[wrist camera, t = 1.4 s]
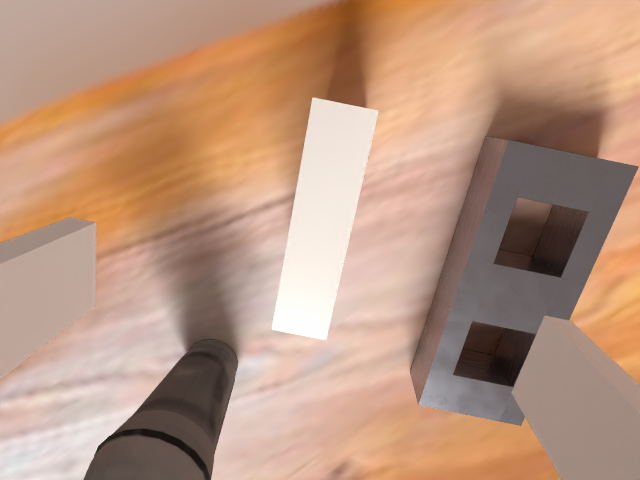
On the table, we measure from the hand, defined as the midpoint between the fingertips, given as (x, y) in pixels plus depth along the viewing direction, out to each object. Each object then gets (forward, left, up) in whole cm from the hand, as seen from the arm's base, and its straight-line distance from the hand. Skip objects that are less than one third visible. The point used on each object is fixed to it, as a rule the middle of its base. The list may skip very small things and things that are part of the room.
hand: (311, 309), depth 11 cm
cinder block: (+14, -4, -19) cm, 23 cm away
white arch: (0, 0, -19) cm, 19 cm away
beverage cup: (-7, -17, -19) cm, 26 cm away
